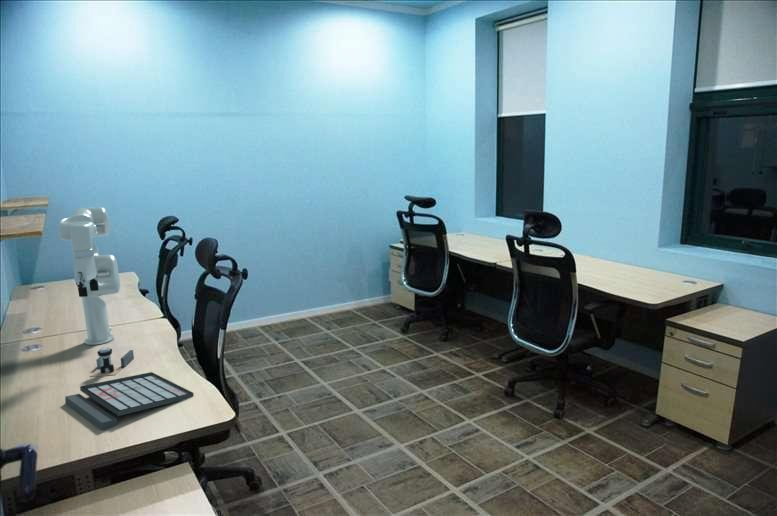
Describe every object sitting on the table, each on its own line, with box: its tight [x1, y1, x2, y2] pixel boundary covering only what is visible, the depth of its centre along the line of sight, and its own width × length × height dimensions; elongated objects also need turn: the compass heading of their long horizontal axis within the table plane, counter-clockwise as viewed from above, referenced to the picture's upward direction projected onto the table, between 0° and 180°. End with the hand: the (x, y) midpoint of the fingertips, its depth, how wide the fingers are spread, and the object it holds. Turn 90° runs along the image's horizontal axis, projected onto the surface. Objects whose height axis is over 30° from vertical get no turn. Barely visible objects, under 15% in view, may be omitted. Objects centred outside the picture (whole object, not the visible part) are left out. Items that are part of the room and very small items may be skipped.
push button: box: [95, 346, 115, 373], centre depth 217 cm, size 7×5×10 cm
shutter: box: [64, 371, 194, 431], centre depth 193 cm, size 32×7×31 cm
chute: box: [95, 349, 135, 370], centre depth 227 cm, size 10×11×4 cm
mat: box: [89, 367, 123, 378], centre depth 218 cm, size 7×10×1 cm, turn 94°
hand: (89, 293), depth 225 cm, fingers open, 9 cm apart
